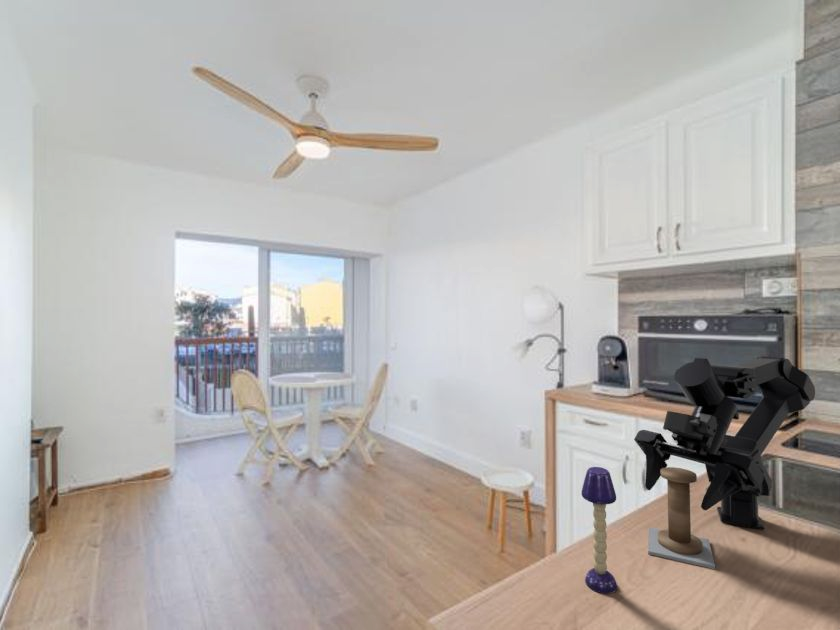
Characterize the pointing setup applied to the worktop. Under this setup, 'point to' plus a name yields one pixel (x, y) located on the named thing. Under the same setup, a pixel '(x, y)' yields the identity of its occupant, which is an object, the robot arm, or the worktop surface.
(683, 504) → the walnut stool
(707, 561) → the grey mat
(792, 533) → the worktop surface
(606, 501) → the toy lamp
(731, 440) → the robot arm
